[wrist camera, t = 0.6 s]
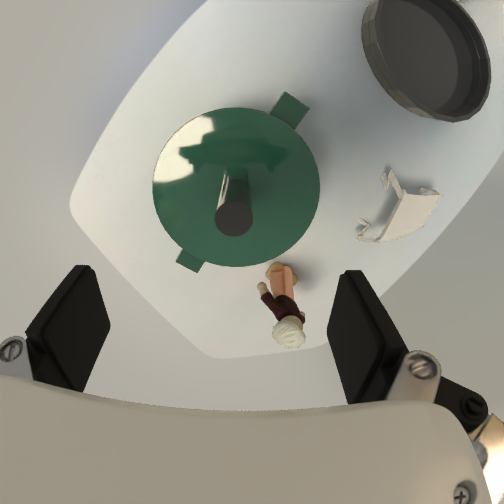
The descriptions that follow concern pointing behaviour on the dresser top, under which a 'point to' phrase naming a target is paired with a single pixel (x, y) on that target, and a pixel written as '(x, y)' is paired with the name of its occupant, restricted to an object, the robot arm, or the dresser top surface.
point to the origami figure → (404, 212)
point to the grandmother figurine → (283, 306)
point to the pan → (428, 56)
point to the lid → (236, 187)
